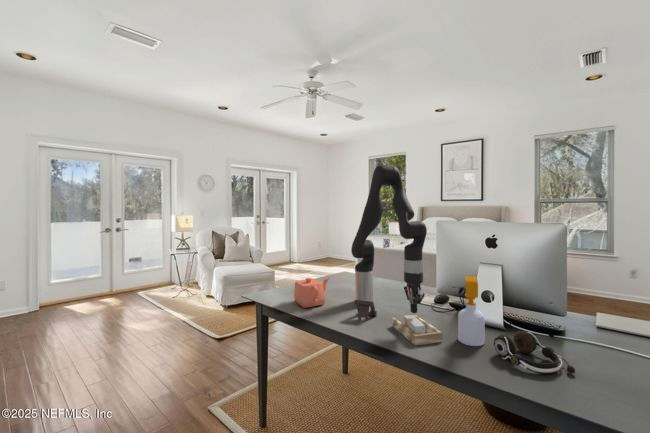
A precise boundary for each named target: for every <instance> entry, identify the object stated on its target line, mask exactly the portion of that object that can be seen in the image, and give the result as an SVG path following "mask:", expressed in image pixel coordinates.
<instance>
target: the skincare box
mask: <svg viewBox="0 0 650 433" xmlns="http://www.w3.org/2000/svg"><path fill="white" fill-rule="evenodd" d="M403 324H404V325H405V326H406V327H408V328H409V329H410V330H411V331H413V332H414V333H415V334H425V333H426V332H425V325H424V324H423V323H421V322H420V321H419V320H418V319H417V318H416V317H415V316H414V314H410V315H403Z"/></svg>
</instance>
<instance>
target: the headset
mask: <svg viewBox="0 0 650 433" xmlns="http://www.w3.org/2000/svg"><path fill="white" fill-rule="evenodd" d="M537 346H539V347H541V348H542V349H541V348H537ZM493 347H494V349H495V351H496V352H497V354H498V355H499V356H500V357H501V358H502V359H503V360H506V359H510V362H511V364H513V365H514V366H516V367H517V366H520V367H522V368H523V369H524V370H526V369H527V371H530V372H532V373H536V374H539V375H545V376H546V375H552V374H555V373H556V372H557V371H560V370H561V369H562V366H563V361H564V363H565V364H566V370H567V372H568V373H570V374H575V373H576V369H575V367H574V366H572V365H570V364H569V363H568V361H566V359H565V358H564V357H562V355H559V354H558V353H557V352H556V351H555V350H554V349H553V348H552V347H551V346H544V345H543V344H541V343H540V341H539V340H538V338H537V337H536V335H534V334H533V333H532V332H529V331H523V330H518V331H517V332H515V333H514V335H513V338H512V337H511V336H508V335H506V334H499V335H498V336H497V337H495V338H494V341H493ZM517 351H519V352H521V353H523V354H525V355H529V354H534V353H536V352H538V351H540V352H541V354H542V356H544V357H545V358H547V359H548V358H549V359H550V360H551V362H548V363H545V362H542V363H541V362H535V361H532V360H529V359H526V358H524V357H522V355H521V354H518V353H517ZM559 364H560V365H559ZM558 365H559V366H558Z"/></svg>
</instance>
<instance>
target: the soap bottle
mask: <svg viewBox="0 0 650 433" xmlns="http://www.w3.org/2000/svg"><path fill="white" fill-rule="evenodd" d="M464 280H465V293H464V296H465V298H466V299H467V300H468V301H466V303H465V304H466V305H465V306H466V307H465V308H463V309H461V310H460V311H459V312H458V314H457V318H458V319H457V337H458V338H457V339H458V341H459V342H460V343H461V344H463V345H466V346H470V347H481V346H483V345H484V344H485V339H486V338H485V331H486V330H485V328H486V327H485V325H486V323H485V320H486V319H485V316H484V314H483V313H482V312H481V311H480V310H478V309H477V304H476V302H475V301H474V300H476V299H478V297H479V281H478V278H477V276H475V275H474V276H470V275H469V276H468V275H466V276H465V277H464Z"/></svg>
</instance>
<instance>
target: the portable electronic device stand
mask: <svg viewBox="0 0 650 433" xmlns="http://www.w3.org/2000/svg"><path fill="white" fill-rule="evenodd" d="M354 305H356V310H357V314H358V316H357V320H358V321H361V320H362V318H364V321H366V322H367V321H369V317H377V316H378V315H377V314H378V313H377V310H376V308H375V307H376V306H375V301H373V302H371V301H362V300H356V299H354Z"/></svg>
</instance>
